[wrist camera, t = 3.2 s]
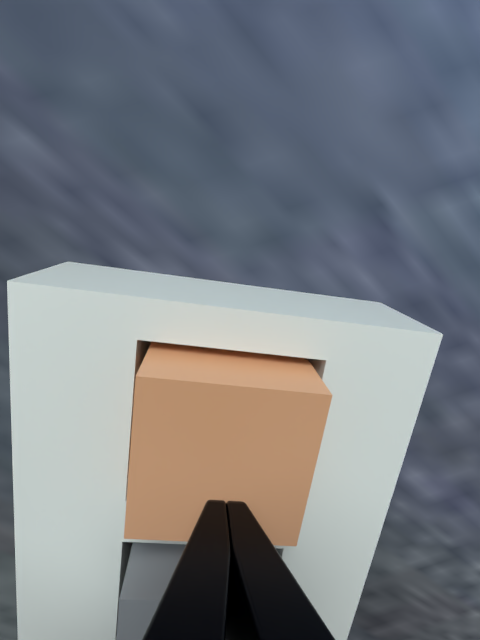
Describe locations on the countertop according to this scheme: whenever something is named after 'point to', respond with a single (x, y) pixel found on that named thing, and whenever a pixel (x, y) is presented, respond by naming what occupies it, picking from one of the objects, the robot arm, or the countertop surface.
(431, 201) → the countertop surface
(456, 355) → the countertop surface
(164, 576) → the key charcoal
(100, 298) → the keypad
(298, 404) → the tan square block
